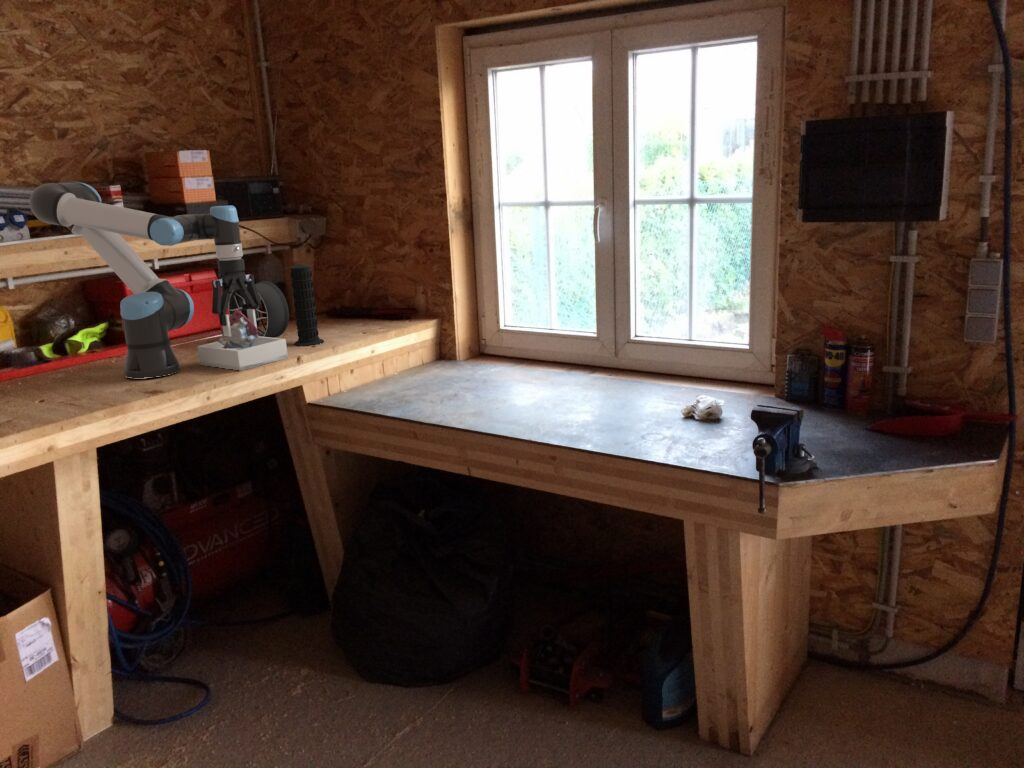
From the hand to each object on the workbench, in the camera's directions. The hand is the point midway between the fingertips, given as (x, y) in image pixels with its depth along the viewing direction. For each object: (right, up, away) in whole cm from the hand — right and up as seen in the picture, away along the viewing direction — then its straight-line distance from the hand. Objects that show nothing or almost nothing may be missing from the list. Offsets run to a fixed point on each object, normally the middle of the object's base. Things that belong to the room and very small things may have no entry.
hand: (240, 333), depth 260 cm
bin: (0, -9, +2) cm, 9 cm away
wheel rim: (-4, -1, +35) cm, 35 cm away
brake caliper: (0, -4, +1) cm, 4 cm away
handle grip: (+15, -2, +26) cm, 30 cm away
